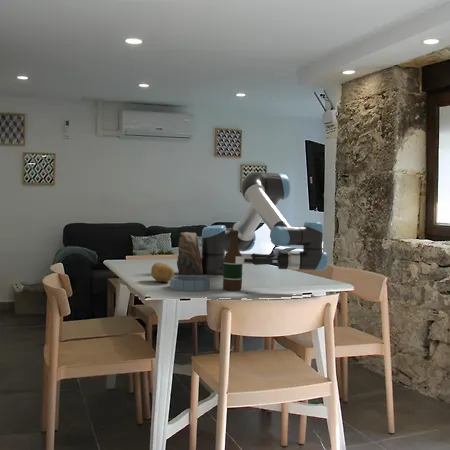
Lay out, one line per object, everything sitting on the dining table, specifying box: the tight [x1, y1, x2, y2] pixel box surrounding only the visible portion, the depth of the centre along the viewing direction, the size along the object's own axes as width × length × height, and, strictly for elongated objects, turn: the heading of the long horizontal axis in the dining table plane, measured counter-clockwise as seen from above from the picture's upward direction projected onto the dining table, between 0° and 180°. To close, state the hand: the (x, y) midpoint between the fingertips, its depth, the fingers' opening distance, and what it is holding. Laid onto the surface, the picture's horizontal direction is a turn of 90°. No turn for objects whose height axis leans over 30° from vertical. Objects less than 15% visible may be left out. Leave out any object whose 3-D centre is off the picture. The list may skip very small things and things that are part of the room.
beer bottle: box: [222, 230, 243, 292], centre depth 231 cm, size 8×8×24 cm
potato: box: [150, 262, 175, 283], centre depth 246 cm, size 10×14×8 cm
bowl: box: [169, 275, 211, 292], centre depth 232 cm, size 16×16×4 cm
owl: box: [176, 231, 204, 276], centre depth 279 cm, size 13×13×20 cm
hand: (235, 258), depth 231 cm, fingers open, 13 cm apart
